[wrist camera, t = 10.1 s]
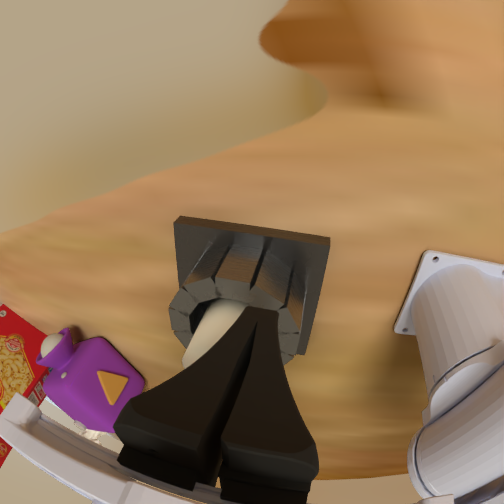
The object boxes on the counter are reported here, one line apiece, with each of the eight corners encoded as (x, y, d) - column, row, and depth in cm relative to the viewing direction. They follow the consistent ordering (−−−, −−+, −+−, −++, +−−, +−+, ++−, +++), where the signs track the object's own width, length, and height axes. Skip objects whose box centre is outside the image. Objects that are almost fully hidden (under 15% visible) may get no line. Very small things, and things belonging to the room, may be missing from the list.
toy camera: (75, 302, 32) (25, 360, 24) (158, 376, 36) (125, 440, 27) (54, 330, 37) (16, 377, 29) (123, 390, 41) (94, 441, 32)
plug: (274, 291, 21) (256, 358, 16) (267, 335, 23) (249, 398, 18) (212, 278, 22) (179, 339, 17) (211, 322, 24) (184, 382, 19)
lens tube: (330, 237, 21) (330, 281, 17) (305, 345, 27) (299, 392, 23) (180, 215, 23) (146, 250, 19) (189, 322, 29) (167, 363, 24)
